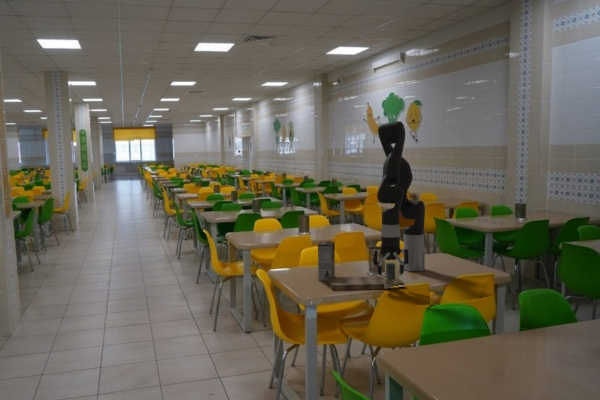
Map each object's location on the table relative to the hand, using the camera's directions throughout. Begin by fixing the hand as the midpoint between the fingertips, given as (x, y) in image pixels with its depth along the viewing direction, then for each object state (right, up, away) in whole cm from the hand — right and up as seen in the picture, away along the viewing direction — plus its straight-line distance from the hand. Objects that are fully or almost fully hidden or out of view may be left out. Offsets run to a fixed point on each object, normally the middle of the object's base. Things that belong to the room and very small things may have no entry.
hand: (390, 274), depth 214 cm
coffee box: (-25, -5, +21) cm, 33 cm away
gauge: (0, -5, +6) cm, 8 cm away
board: (-9, -6, +8) cm, 14 cm away
